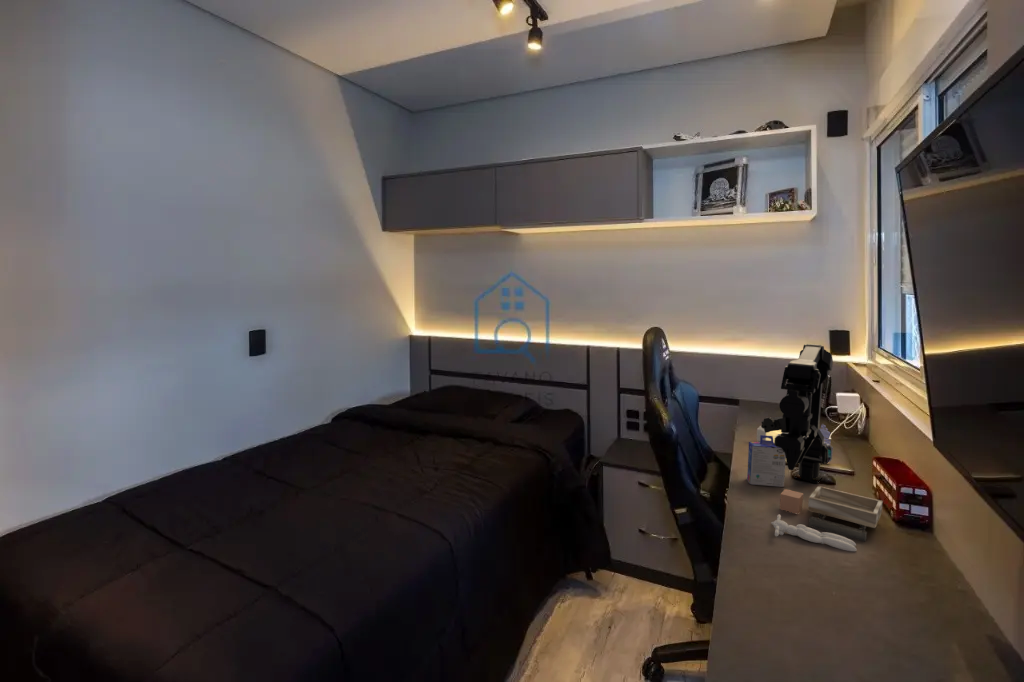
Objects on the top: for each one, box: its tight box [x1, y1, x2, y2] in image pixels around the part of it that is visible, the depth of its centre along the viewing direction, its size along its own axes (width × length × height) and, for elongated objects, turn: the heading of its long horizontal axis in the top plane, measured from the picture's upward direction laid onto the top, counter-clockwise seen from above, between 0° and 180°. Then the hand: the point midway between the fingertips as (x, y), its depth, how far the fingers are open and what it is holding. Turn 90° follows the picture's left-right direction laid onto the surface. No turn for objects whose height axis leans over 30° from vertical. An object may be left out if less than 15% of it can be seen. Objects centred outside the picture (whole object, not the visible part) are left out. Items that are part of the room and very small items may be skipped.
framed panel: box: [808, 515, 868, 542], centre depth 140 cm, size 28×12×2 cm, turn 138°
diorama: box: [756, 423, 834, 463], centre depth 189 cm, size 25×10×13 cm, turn 13°
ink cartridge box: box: [746, 435, 787, 488], centre depth 161 cm, size 10×6×14 cm, turn 79°
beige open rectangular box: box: [807, 485, 884, 529], centre depth 137 cm, size 11×15×5 cm
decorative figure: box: [770, 514, 858, 552], centre depth 127 cm, size 4×12×18 cm
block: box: [779, 488, 804, 515], centre depth 143 cm, size 4×4×4 cm
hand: (794, 466), depth 142 cm, fingers open, 6 cm apart
